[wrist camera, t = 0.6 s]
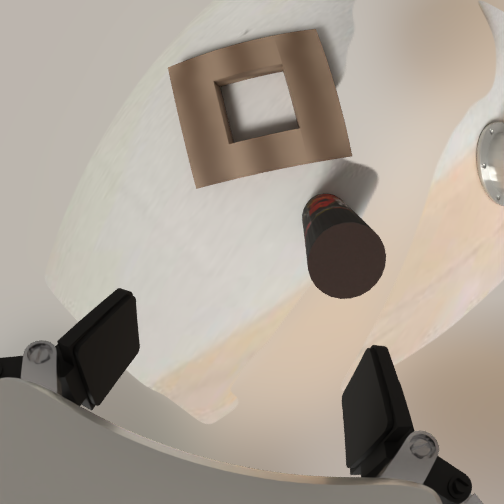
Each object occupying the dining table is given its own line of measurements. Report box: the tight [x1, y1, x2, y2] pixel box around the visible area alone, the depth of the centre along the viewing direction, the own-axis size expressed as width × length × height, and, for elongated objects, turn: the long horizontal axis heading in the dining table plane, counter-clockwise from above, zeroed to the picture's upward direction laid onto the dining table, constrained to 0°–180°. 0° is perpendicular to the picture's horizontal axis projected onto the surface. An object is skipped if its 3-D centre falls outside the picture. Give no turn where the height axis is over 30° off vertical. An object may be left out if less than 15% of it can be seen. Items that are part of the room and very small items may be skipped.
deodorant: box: [302, 194, 386, 299], centre depth 26 cm, size 6×6×15 cm
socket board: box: [168, 29, 352, 189], centre depth 28 cm, size 18×16×3 cm
